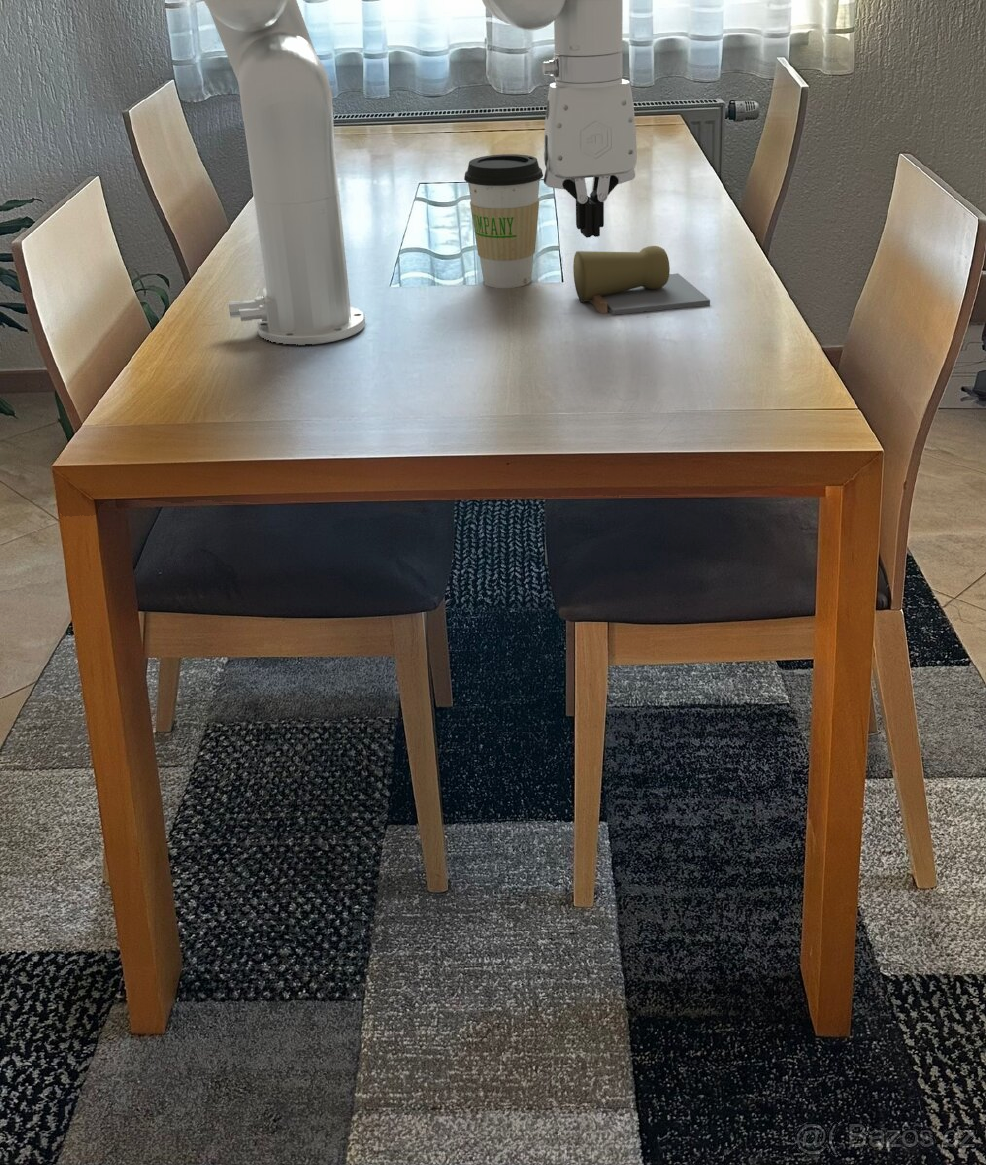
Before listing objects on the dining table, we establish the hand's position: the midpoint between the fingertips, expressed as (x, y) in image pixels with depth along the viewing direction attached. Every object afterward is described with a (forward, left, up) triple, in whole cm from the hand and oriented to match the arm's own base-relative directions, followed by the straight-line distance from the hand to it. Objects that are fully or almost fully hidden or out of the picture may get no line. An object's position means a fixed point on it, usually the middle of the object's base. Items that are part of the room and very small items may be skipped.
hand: (589, 233), depth 153 cm
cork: (-1, +1, -5) cm, 5 cm away
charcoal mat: (+7, 0, -8) cm, 11 cm away
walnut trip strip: (0, 0, -8) cm, 8 cm away
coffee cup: (-8, +12, -8) cm, 17 cm away
